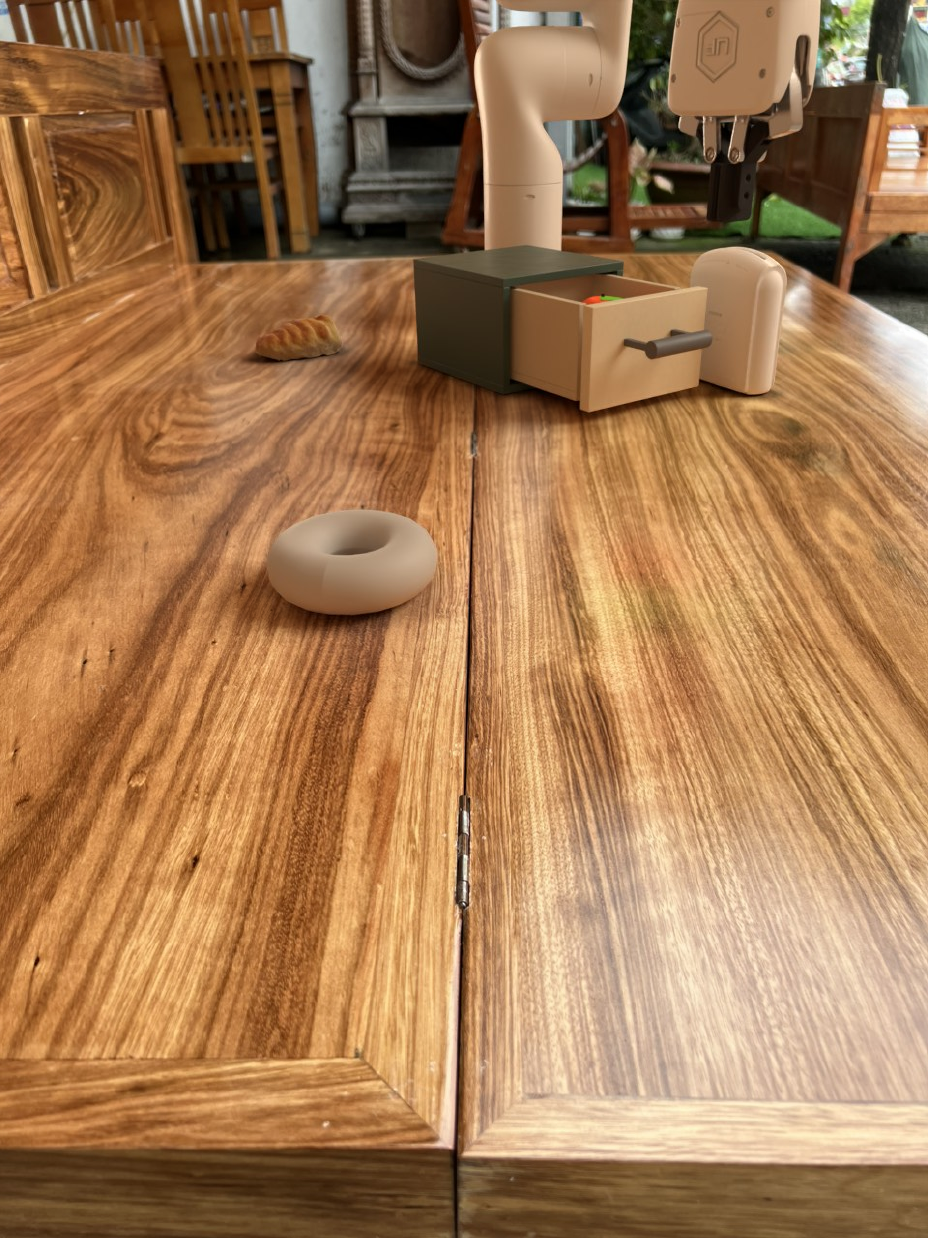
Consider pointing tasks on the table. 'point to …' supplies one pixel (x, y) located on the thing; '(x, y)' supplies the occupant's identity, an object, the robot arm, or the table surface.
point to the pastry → (300, 339)
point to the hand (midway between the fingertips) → (728, 219)
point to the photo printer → (741, 317)
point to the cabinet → (484, 306)
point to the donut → (352, 562)
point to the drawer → (607, 338)
